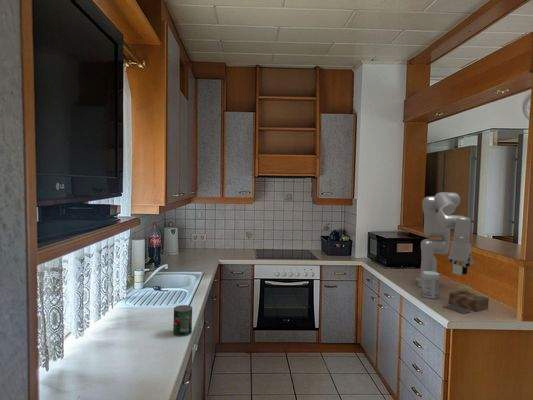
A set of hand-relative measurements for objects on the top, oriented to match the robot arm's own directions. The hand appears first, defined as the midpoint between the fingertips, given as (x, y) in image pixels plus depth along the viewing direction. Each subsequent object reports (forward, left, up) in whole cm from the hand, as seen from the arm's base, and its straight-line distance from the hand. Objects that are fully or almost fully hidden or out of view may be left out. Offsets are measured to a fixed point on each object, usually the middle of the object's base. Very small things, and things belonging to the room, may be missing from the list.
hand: (459, 272), depth 215 cm
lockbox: (-1, +13, -20) cm, 24 cm away
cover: (0, 0, -1) cm, 1 cm away
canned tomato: (-38, -142, -21) cm, 149 cm away
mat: (0, 0, -20) cm, 20 cm away
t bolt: (-5, +17, -14) cm, 22 cm away
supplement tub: (-22, +8, -21) cm, 31 cm away
